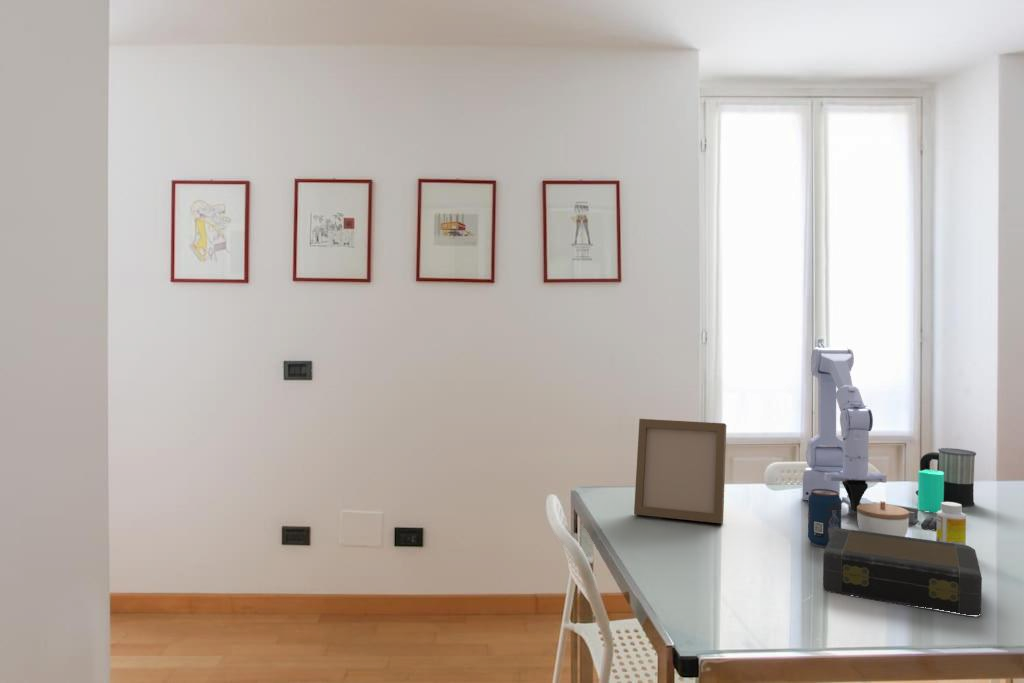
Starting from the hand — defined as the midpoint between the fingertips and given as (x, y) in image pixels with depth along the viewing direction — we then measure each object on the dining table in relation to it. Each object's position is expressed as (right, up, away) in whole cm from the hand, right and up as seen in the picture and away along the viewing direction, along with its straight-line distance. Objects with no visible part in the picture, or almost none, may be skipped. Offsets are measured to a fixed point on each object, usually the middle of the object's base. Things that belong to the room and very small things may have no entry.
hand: (854, 510), depth 177 cm
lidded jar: (0, -4, -14) cm, 15 cm away
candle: (+28, -4, +15) cm, 32 cm away
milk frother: (+36, -4, +22) cm, 43 cm away
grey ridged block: (+20, -2, 0) cm, 20 cm away
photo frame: (-41, -4, +8) cm, 42 cm away
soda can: (-14, -4, -16) cm, 22 cm away
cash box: (-12, -5, -42) cm, 44 cm away
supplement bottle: (+12, -4, -19) cm, 23 cm away
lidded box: (+4, 0, +5) cm, 7 cm away
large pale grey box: (+11, -4, +7) cm, 14 cm away
